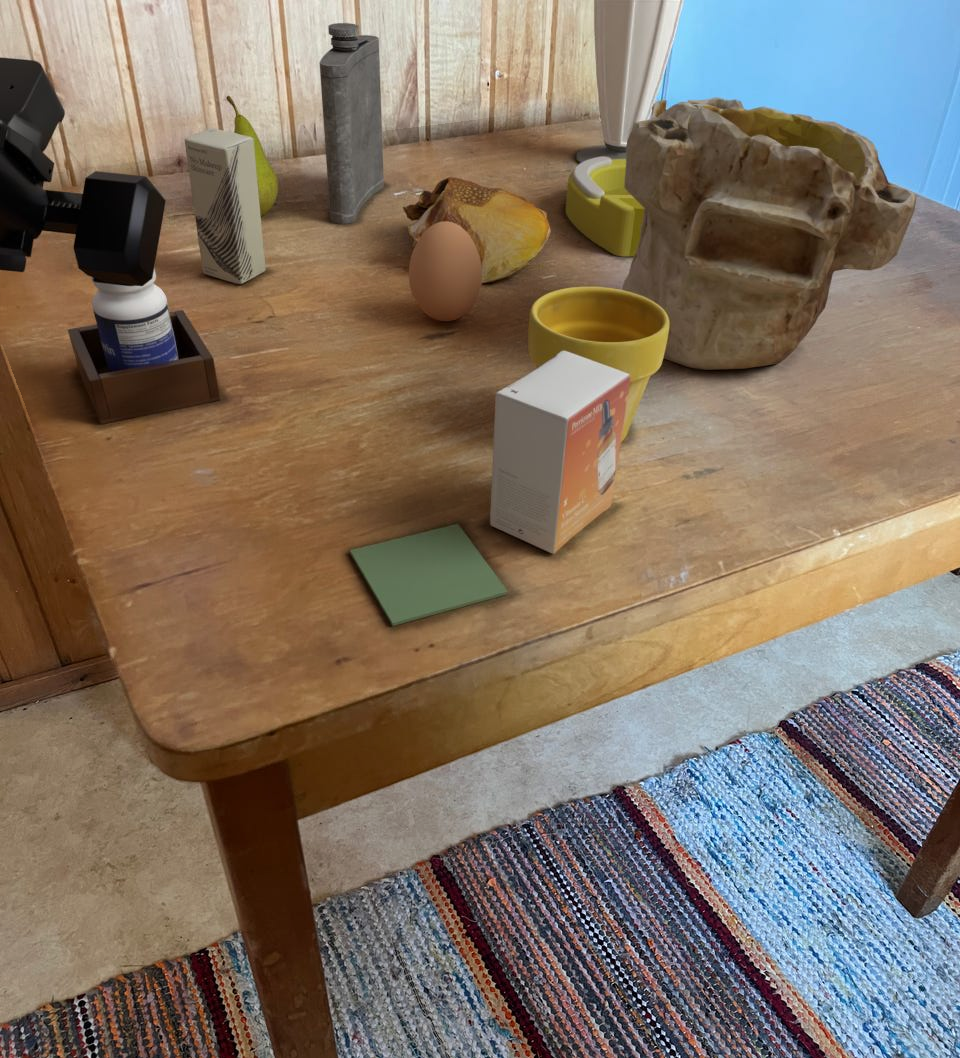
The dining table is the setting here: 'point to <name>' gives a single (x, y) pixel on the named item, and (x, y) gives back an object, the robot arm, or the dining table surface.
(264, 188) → the fruit
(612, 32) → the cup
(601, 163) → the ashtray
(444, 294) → the egg
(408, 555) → the mat
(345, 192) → the flask
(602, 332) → the flower pot
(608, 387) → the small box
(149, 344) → the pill bottle
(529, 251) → the seashell
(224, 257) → the box
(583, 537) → the dining table surface
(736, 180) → the ceramic vessel
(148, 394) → the compartment
